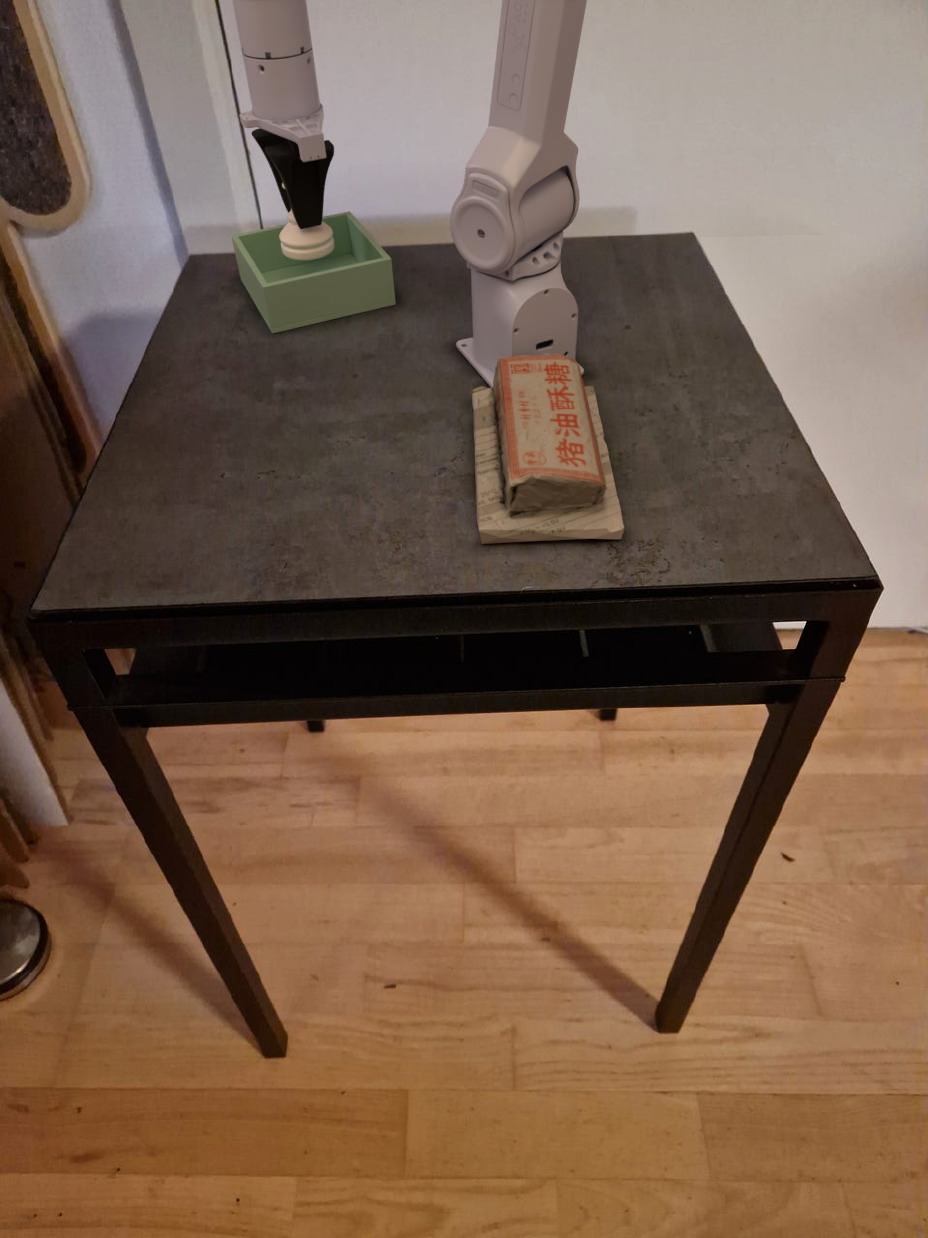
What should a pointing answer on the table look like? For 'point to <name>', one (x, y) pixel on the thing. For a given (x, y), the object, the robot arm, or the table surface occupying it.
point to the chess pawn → (305, 240)
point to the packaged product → (542, 455)
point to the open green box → (315, 276)
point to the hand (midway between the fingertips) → (304, 218)
